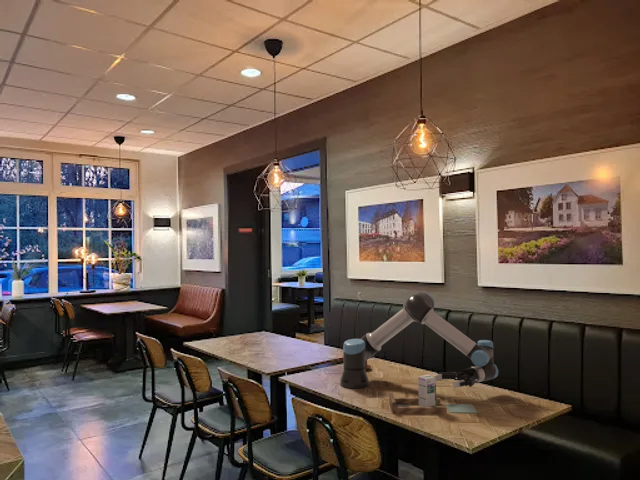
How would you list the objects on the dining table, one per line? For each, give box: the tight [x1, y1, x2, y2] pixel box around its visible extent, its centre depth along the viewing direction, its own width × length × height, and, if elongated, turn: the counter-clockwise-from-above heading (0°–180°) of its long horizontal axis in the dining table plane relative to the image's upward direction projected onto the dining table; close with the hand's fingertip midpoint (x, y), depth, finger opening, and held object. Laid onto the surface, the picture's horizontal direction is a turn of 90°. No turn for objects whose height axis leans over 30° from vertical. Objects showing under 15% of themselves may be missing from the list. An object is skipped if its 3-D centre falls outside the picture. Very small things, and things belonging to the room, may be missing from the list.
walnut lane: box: [388, 391, 448, 415], centre depth 224 cm, size 24×15×5 cm, turn 87°
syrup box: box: [417, 374, 438, 407], centre depth 224 cm, size 6×6×14 cm
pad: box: [444, 403, 479, 414], centre depth 223 cm, size 12×12×1 cm
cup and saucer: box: [365, 360, 372, 371], centre depth 299 cm, size 12×12×6 cm
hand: (442, 382), depth 229 cm, fingers open, 13 cm apart
